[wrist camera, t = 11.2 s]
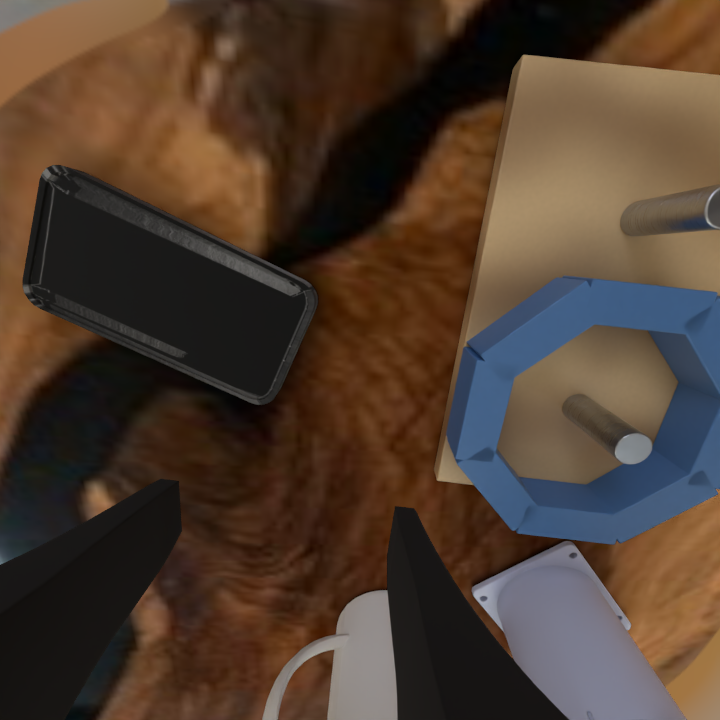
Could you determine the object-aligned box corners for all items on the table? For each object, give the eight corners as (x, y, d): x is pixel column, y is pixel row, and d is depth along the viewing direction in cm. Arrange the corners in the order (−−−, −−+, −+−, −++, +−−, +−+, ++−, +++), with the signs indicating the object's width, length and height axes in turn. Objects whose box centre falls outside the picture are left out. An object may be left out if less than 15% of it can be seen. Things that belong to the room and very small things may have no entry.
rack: (646, 494, 22) (734, 571, 17) (433, 469, 22) (452, 538, 17) (812, 99, 16) (1043, 17, 10) (512, 68, 16) (584, -30, 10)
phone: (43, 156, 17) (321, 291, 18) (64, 162, 18) (324, 289, 19) (19, 301, 19) (268, 412, 20) (38, 298, 20) (273, 404, 21)
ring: (753, 296, 17) (817, 302, 15) (654, 519, 21) (691, 554, 19) (479, 266, 17) (496, 267, 15) (433, 494, 22) (441, 525, 19)
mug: (459, 619, 26) (512, 846, 16) (397, 674, 28) (410, 905, 18) (327, 542, 25) (294, 741, 14) (272, 607, 27) (210, 819, 17)
